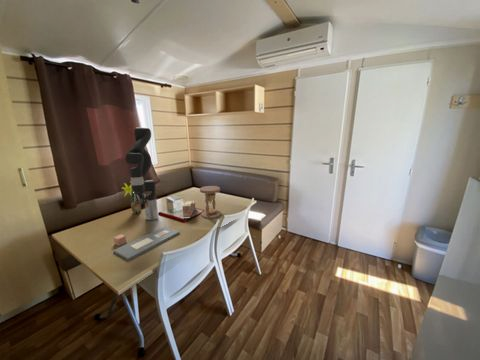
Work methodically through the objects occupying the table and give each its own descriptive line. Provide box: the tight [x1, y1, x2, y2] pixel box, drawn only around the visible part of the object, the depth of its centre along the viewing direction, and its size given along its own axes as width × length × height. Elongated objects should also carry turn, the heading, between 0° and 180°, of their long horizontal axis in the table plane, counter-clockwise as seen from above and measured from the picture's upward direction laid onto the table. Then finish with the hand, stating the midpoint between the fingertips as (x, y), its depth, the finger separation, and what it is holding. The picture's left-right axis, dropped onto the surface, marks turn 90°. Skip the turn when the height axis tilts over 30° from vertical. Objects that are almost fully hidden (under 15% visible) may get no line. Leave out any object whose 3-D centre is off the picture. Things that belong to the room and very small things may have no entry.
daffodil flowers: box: [121, 181, 142, 216], centre depth 180 cm, size 17×15×35 cm
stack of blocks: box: [182, 200, 196, 218], centre depth 181 cm, size 21×6×12 cm, turn 1°
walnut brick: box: [130, 200, 149, 213], centre depth 135 cm, size 5×10×5 cm, turn 164°
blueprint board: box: [113, 226, 181, 262], centre depth 136 cm, size 16×38×2 cm, turn 148°
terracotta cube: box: [113, 233, 127, 247], centre depth 134 cm, size 5×5×5 cm
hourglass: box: [199, 185, 222, 220], centre depth 177 cm, size 18×18×25 cm
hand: (140, 207), depth 136 cm, fingers closed on walnut brick, 5 cm apart
